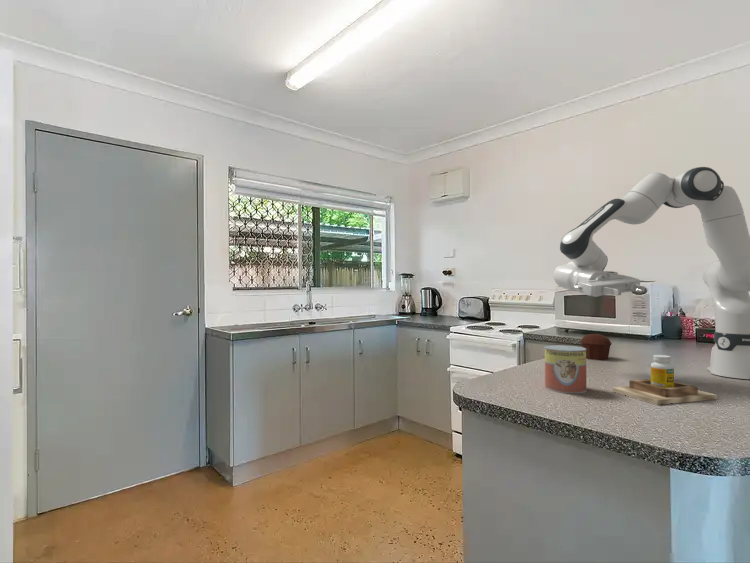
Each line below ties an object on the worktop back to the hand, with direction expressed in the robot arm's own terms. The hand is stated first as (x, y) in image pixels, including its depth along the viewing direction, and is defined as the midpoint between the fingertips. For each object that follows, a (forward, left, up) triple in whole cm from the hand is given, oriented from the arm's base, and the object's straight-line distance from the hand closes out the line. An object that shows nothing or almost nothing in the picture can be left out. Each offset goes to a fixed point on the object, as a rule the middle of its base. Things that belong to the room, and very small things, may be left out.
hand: (631, 291), depth 129 cm
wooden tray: (+3, +12, -28) cm, 31 cm away
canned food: (+23, -2, -29) cm, 37 cm away
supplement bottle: (+3, +12, -27) cm, 30 cm away
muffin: (-25, -42, -29) cm, 57 cm away
